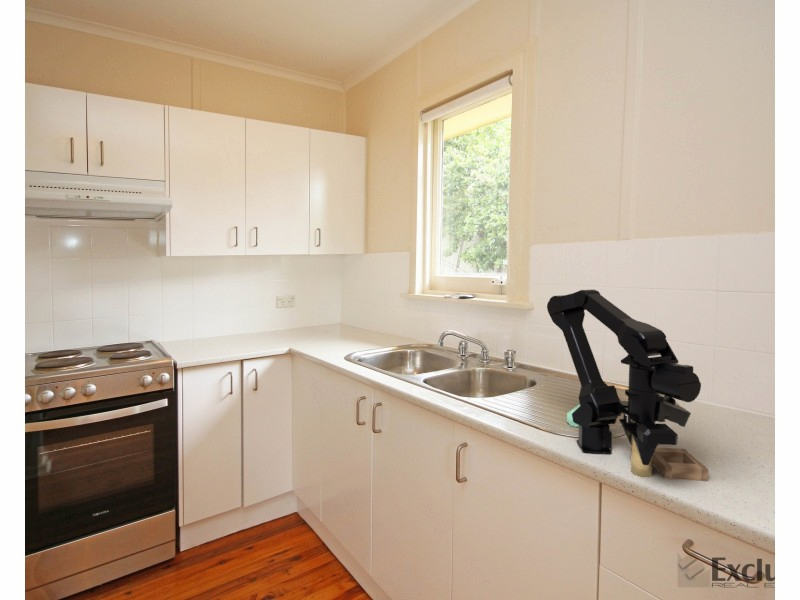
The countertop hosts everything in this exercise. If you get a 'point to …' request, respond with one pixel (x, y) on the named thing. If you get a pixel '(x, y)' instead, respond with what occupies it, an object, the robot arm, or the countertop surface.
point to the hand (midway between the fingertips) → (641, 460)
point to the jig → (678, 464)
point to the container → (569, 417)
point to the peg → (639, 463)
